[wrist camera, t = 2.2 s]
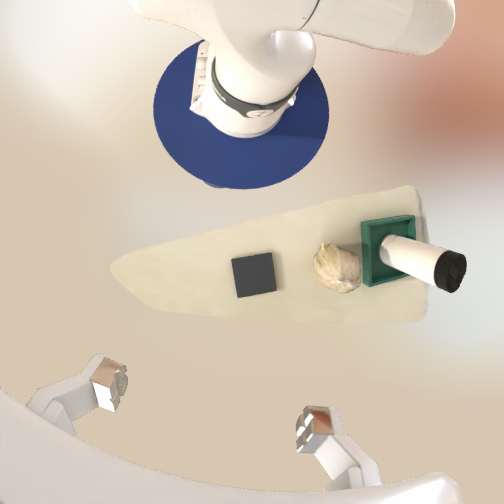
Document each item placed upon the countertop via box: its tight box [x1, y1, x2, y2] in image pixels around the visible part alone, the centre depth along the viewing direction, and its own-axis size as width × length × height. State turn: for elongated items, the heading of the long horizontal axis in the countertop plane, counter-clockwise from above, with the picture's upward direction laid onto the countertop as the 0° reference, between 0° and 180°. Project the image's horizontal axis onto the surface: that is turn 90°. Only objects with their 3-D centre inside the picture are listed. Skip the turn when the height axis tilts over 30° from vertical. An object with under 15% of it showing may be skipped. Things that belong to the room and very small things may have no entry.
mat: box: [231, 253, 276, 298], centre depth 48 cm, size 7×7×1 cm
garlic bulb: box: [314, 242, 361, 293], centre depth 45 cm, size 9×8×10 cm
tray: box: [361, 215, 416, 287], centre depth 50 cm, size 13×13×2 cm
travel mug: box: [378, 234, 467, 293], centre depth 41 cm, size 6×7×20 cm
